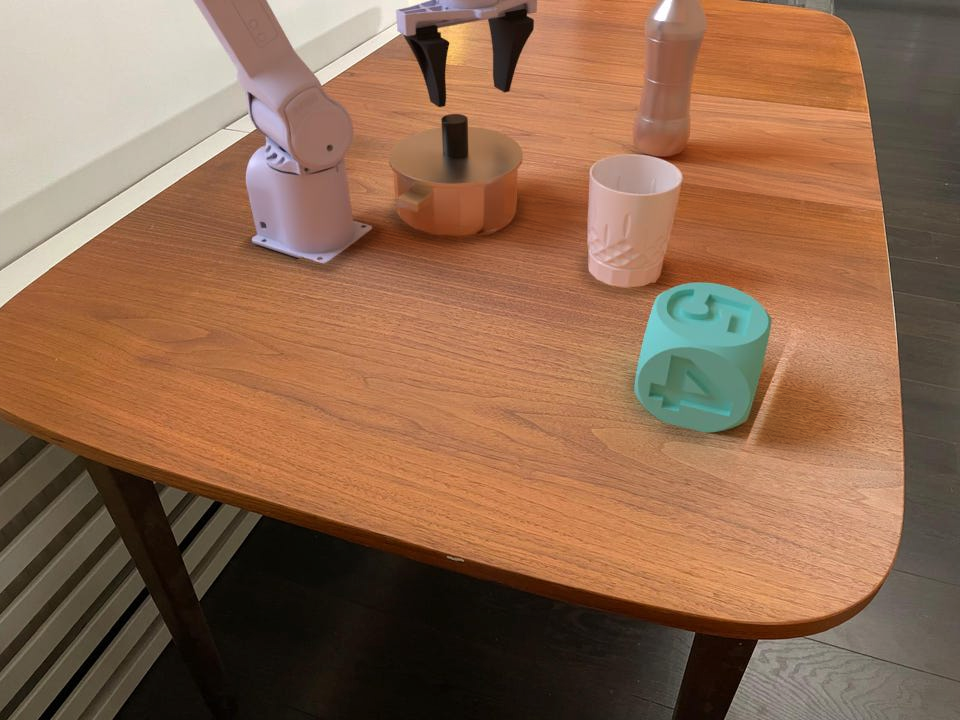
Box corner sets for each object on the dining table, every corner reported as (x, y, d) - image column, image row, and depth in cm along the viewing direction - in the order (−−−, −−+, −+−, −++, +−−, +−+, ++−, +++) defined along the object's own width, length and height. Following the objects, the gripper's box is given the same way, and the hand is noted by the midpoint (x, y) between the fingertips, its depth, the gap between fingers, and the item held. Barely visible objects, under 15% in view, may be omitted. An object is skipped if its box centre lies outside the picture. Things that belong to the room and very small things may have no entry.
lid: (362, 175, 76) (357, 130, 73) (434, 127, 85) (432, 85, 82) (481, 206, 71) (480, 159, 68) (544, 151, 80) (546, 107, 77)
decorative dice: (739, 446, 54) (765, 360, 49) (628, 418, 56) (642, 333, 51) (752, 377, 60) (776, 293, 55) (651, 355, 62) (665, 272, 57)
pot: (358, 232, 78) (352, 179, 74) (450, 164, 90) (448, 116, 86) (465, 264, 73) (463, 209, 69) (546, 188, 85) (549, 137, 81)
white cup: (622, 306, 67) (636, 204, 61) (563, 267, 72) (570, 169, 66) (683, 276, 71) (702, 177, 65) (623, 241, 76) (635, 146, 70)
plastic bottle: (686, 165, 89) (719, -22, 76) (628, 160, 90) (650, -24, 77) (686, 142, 94) (716, -36, 81) (631, 138, 95) (652, -39, 82)
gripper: (417, -32, 64) (425, 124, 73) (558, -53, 70) (550, 94, 79) (381, -48, 69) (393, 100, 78) (516, -66, 75) (513, 74, 83)
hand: (470, 96), depth 78 cm, fingers open, 7 cm apart
